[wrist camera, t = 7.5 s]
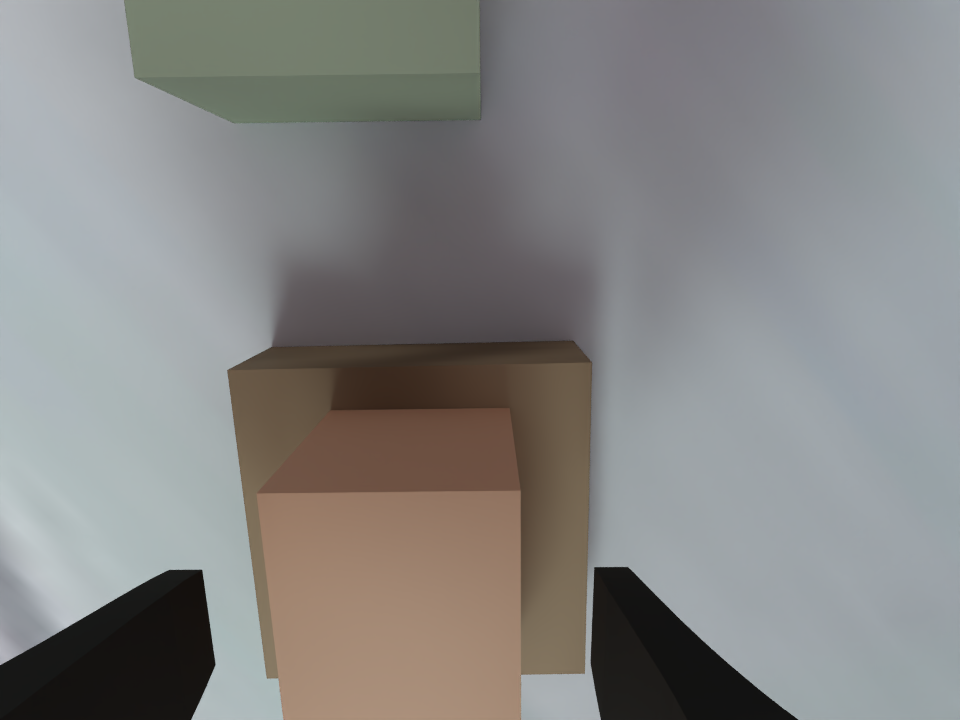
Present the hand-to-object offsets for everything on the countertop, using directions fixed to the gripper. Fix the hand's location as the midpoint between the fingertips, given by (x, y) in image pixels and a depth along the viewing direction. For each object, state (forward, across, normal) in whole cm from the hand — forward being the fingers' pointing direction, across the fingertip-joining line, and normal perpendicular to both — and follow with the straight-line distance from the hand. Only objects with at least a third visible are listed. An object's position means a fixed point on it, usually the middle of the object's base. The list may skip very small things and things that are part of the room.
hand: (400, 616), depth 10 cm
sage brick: (+6, +2, -12) cm, 13 cm away
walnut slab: (+6, 0, 0) cm, 6 cm away
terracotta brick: (+3, 0, 0) cm, 3 cm away
